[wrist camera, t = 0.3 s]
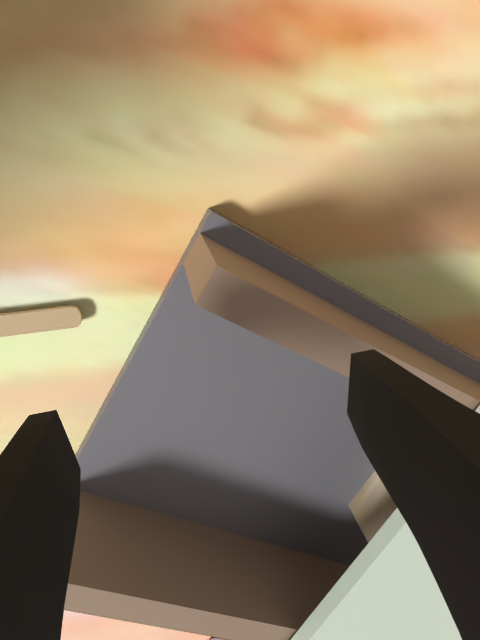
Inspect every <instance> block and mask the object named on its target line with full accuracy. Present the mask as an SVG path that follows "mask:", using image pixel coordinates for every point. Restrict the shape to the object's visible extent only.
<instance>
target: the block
mask: <svg viewBox="0 0 480 640" xmlns="http://www.w3.org/2000/svg"><path fill="white" fill-rule="evenodd" d="M348 506H349V508H350V510H351V512H352V514H353V516H354V517H355V519H356V521H357V523H358V525H359V527H360V529H361V530H362V532H363V534H364V536H365V538H366V540H367V541H368V543H369V542H370V541H371V539H372V538H373V537H374V536H375V534H376V533H377V532H378V531H379V529H380V528H381V527H382V526H383V524H384V523H385V522H386V521H387V519H388V518H389V517H390V516H391V515H392V513H393V512H394V511H395V510H396V508H397V506H396V505H395V503H394V501H393V500H392V498H391V496H390V495H389V493H388V491H387V490H386V488H385V486H384V485H383V483H382V481H381V480H380V478H379V476H378V474H377V473H376V471H374V472H373V474H372V475H371V476H370V477H369V479H368V480H367V481H366V483H365V484H364V485H363V487H362V488H361V489H360V491H359V492H358V493H357V494H356V496H355V497H354V498H353V500H352V501H351V502H350V504H349V505H348Z"/></svg>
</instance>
